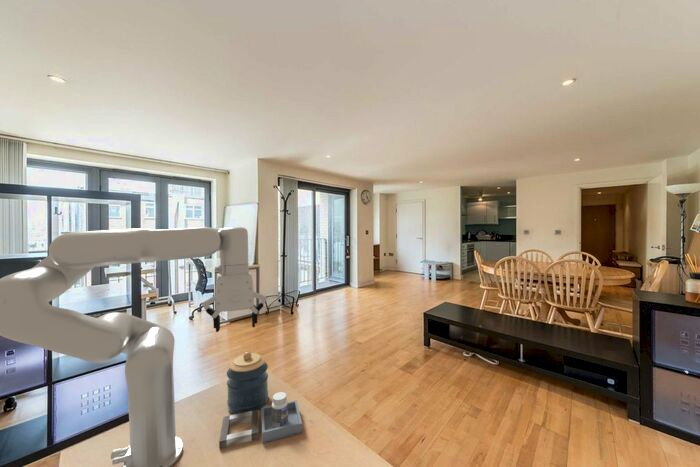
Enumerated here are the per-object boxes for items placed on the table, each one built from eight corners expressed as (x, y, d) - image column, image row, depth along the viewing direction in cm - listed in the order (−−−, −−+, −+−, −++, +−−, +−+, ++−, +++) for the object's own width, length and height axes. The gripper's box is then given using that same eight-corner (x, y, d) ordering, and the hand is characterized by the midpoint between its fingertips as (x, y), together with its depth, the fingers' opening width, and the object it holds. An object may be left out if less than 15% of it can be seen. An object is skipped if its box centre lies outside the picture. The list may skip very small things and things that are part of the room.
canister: (218, 408, 90) (217, 355, 90) (250, 387, 102) (249, 340, 101) (245, 422, 84) (244, 365, 83) (276, 398, 95) (275, 348, 95)
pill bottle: (283, 430, 80) (283, 401, 79) (269, 427, 81) (268, 399, 80) (290, 418, 84) (290, 392, 84) (276, 416, 85) (276, 390, 85)
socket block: (219, 448, 74) (219, 441, 74) (223, 423, 83) (223, 416, 83) (258, 439, 77) (258, 432, 77) (258, 415, 87) (258, 409, 87)
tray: (262, 443, 76) (262, 432, 75) (261, 417, 86) (261, 407, 86) (302, 433, 79) (302, 423, 79) (296, 409, 90) (296, 400, 89)
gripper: (198, 274, 73) (200, 337, 74) (266, 269, 79) (267, 328, 79) (203, 269, 80) (205, 327, 81) (265, 266, 86) (266, 320, 86)
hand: (236, 328), depth 80 cm, fingers open, 9 cm apart
